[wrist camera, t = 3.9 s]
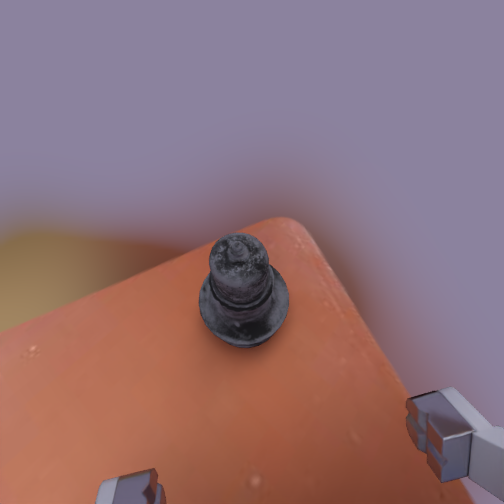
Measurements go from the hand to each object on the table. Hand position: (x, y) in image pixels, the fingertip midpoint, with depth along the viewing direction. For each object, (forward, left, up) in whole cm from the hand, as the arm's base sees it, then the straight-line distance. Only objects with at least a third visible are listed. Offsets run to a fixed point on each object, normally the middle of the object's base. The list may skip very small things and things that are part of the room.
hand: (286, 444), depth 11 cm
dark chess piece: (-2, -7, -13) cm, 15 cm away
